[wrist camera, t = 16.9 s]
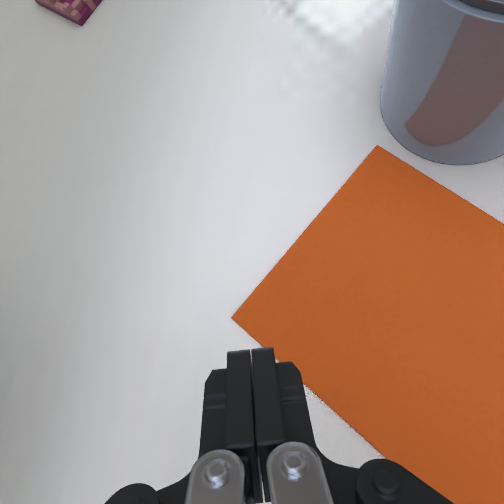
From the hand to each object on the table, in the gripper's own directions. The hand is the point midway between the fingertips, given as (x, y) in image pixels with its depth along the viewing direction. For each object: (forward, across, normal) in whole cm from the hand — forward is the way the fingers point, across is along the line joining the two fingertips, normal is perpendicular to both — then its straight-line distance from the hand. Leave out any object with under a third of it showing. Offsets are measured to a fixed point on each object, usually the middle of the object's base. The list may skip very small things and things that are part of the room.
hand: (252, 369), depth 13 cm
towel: (+13, -13, +10) cm, 20 cm away
